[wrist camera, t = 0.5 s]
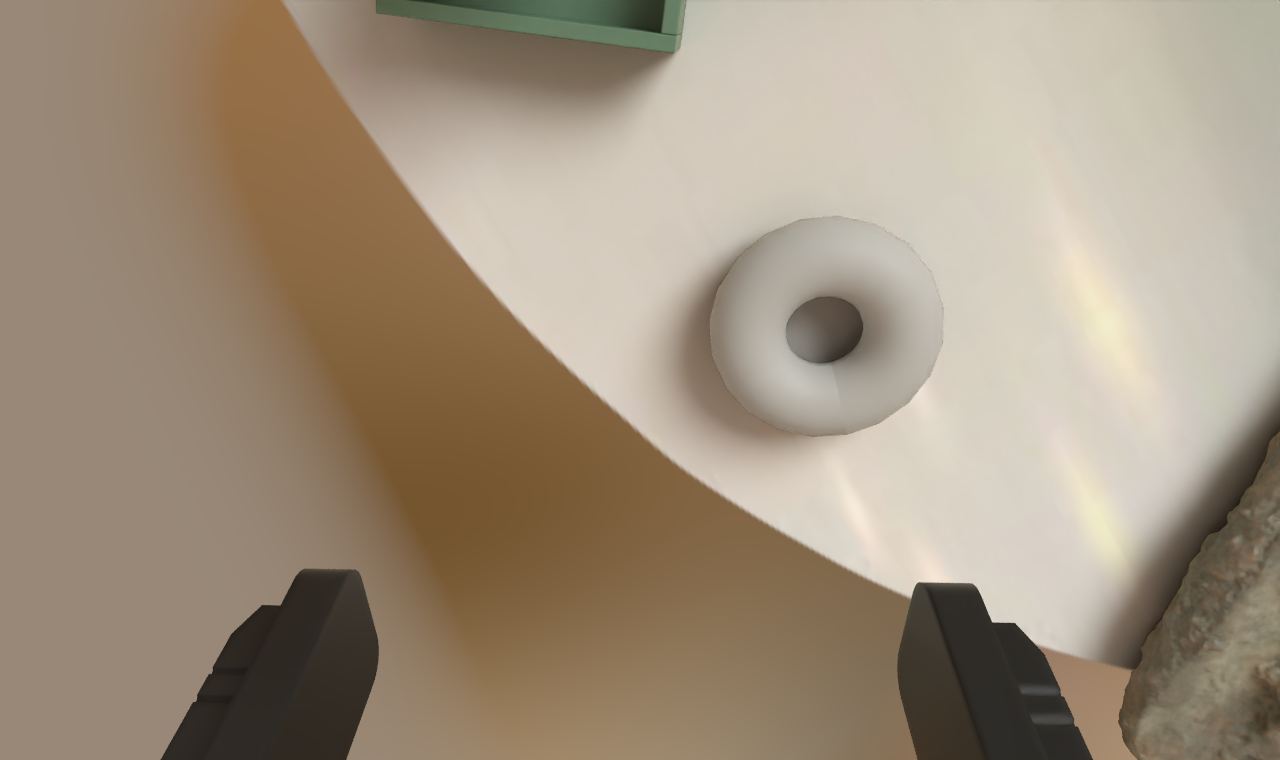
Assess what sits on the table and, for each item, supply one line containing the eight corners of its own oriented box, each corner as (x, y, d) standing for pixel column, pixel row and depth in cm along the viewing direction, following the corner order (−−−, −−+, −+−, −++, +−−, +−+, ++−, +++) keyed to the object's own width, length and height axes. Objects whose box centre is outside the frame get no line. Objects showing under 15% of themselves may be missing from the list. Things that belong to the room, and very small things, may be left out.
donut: (866, 162, 35) (667, 285, 37) (881, 175, 31) (662, 309, 34) (971, 350, 37) (779, 451, 40) (995, 380, 34) (784, 488, 37)
